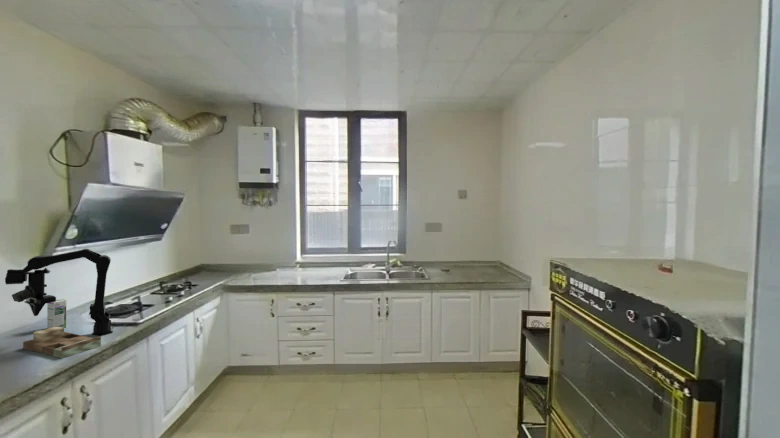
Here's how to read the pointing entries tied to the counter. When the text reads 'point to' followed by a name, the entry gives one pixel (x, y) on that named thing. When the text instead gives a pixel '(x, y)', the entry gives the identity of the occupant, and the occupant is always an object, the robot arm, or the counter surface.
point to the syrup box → (56, 314)
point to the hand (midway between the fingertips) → (35, 315)
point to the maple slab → (48, 334)
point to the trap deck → (63, 345)
